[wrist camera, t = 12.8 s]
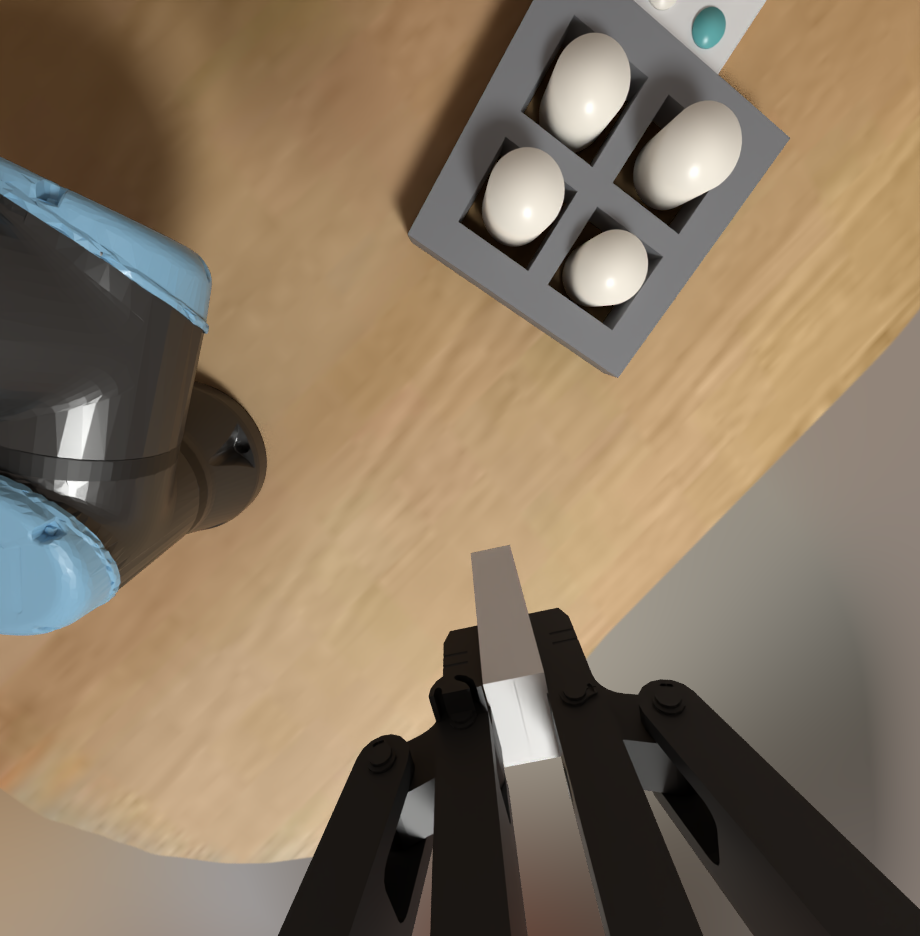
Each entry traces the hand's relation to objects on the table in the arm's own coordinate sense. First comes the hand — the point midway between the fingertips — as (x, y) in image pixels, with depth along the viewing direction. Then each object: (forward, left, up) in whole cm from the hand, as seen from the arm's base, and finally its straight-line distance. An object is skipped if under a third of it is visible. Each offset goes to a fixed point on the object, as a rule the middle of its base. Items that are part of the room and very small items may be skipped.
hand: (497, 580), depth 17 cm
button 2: (-7, +26, -30) cm, 40 cm away
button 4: (+3, +27, -28) cm, 38 cm away
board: (-2, +22, -30) cm, 38 cm away
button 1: (-6, +18, -28) cm, 33 cm away
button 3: (+2, +18, -30) cm, 35 cm away
